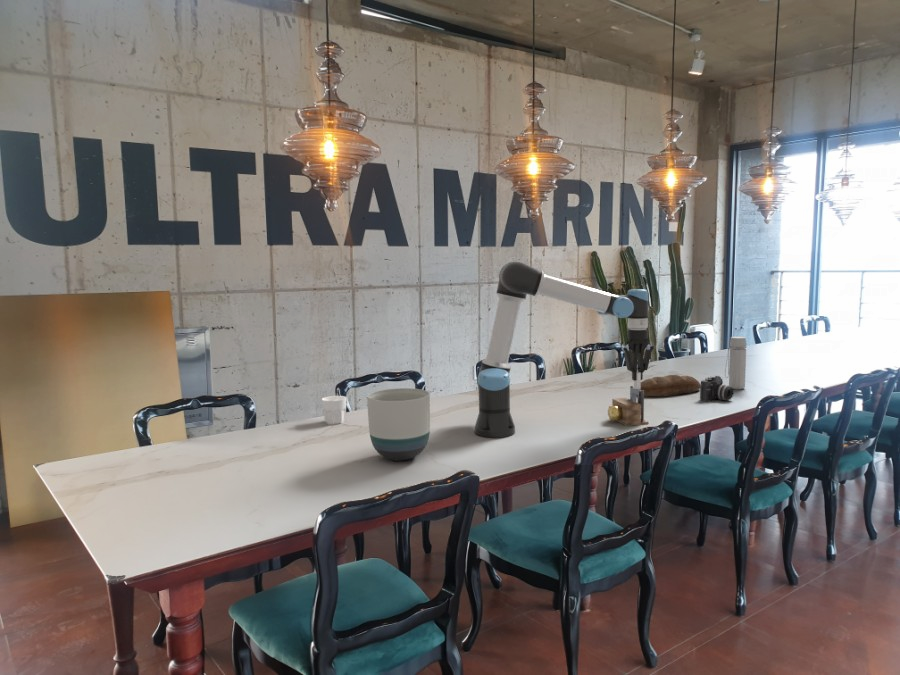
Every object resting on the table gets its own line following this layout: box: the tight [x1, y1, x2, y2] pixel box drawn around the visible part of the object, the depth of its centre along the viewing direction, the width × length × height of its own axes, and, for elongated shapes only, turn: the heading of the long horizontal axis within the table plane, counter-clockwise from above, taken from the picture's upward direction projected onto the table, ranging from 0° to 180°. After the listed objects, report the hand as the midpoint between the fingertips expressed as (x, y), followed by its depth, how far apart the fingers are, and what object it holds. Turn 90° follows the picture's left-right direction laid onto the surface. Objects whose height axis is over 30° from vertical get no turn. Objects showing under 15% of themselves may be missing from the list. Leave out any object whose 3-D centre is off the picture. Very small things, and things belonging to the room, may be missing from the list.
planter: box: [366, 387, 431, 462], centre depth 200 cm, size 20×20×21 cm
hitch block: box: [611, 385, 649, 426], centre depth 239 cm, size 9×12×13 cm
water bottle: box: [724, 336, 747, 390], centre depth 295 cm, size 9×8×25 cm
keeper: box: [631, 387, 641, 404], centre depth 239 cm, size 2×7×6 cm, turn 11°
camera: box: [699, 375, 734, 402], centre depth 272 cm, size 14×11×10 cm
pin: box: [607, 405, 623, 421], centre depth 239 cm, size 12×6×6 cm, turn 101°
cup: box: [321, 395, 347, 425], centre depth 250 cm, size 10×10×10 cm
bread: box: [636, 374, 701, 398], centre depth 290 cm, size 16×36×8 cm, turn 113°
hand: (637, 388), depth 239 cm, fingers closed
